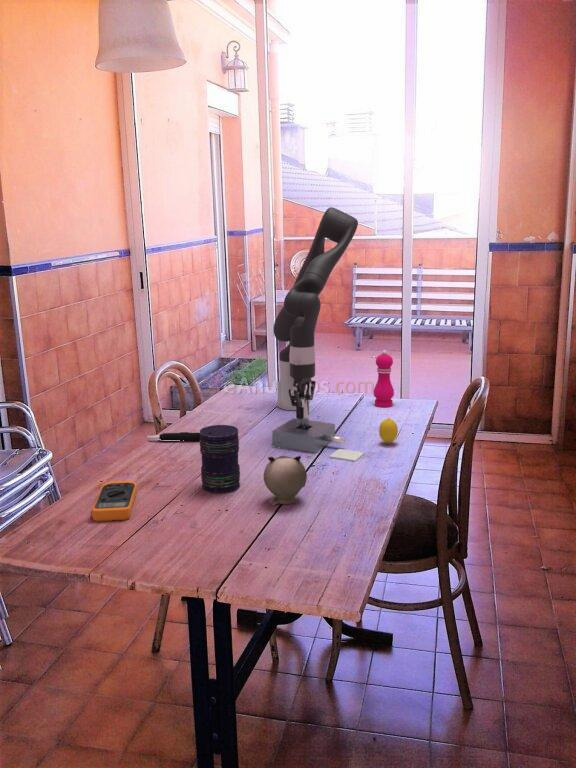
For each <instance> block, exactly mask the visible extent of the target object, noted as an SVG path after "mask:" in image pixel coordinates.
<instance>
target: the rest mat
mask: <svg viewBox="0 0 576 768" xmlns="http://www.w3.org/2000/svg"><path fill="white" fill-rule="evenodd" d="M365 454H366V453H365V452H362V451H355V450H351V449H350V450H349V449H348V450H347V449H343V448H338V449H337V450H336V451H334V452H332V453H331V454H330V455H329V456H328V457H329V458H331V459H335V460H336V459H337V460H341V461H349V462H357V461H358V460H359V459H361V457H363V456H364V455H365Z"/></svg>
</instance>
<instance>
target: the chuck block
mask: <svg viewBox="0 0 576 768" xmlns="http://www.w3.org/2000/svg"><path fill="white" fill-rule="evenodd" d="M271 432H272V434H271V436H272V437H271V439H272V440H271V441H272V442H271V443H272V447H273V446H274V448H277V447H280V448H279V449H284V448H287V449H286V450H290V449H293V450H292V451H297V450H300V451H299V452H303V451H306V452H305V453H309V452H313V453H312V454H316V452H317V451H318V452H319V451H321V450H322V449H324V448H325V447H326V446H328V445H329V444H331V443H337V444H338V443H339V444H345V443H346V437H344V436H343V437H342V436H336V424H335V423H330V422H326V421H325V422H324V421H318V420H317V421H316V420H310V419H309V429H308V430H305V429H300V423H299V419H297V418H296V417H295V418H292V419H290V420H288V421H286V422H285V423H282V425H279V426H278V427H276V428H274V429H272V431H271ZM320 449H321V450H320ZM318 452H317V453H318Z"/></svg>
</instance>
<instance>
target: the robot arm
mask: <svg viewBox="0 0 576 768" xmlns="http://www.w3.org/2000/svg"><path fill="white" fill-rule="evenodd" d="M358 225H359V220H358V219H357V218H356V217H354V216H353V215H350V214H348V213H346V212H344V211H343V210H342V211H341V210H340V209H338V208H336V207H332V206H329V207H328V208H327V209H326V211H324V213H323V215H322V217H321V219H320V222H319V224H318V227H317V229H316V230H317V231H316V233H315V234H314V235H315V236H314V238H313V241H312V244H311V245H310V249H309V251H308V252H307V254H306V256H305V259H304V262H303V263H302V265H301V268H300V269H299V272H298V274H297V277H296V279H295V281H294V284H293V287H292V288H291V289H290V290H289V291H288V292H287V294H286V295H285V297H284V301H283V305H282V307H281V309H280V310H279V313H278V314H277V317H276V318H275V321H274V323H273V335H274V338H275V339H276V340H278V341H279V342H286V343H287V342H288V344H287V346H286V347H285V348H283V349H282V350H281V351H280V352H279V354H278V355H279V356H278V358H279V361H278V362H279V363H278V364H279V365H278V366H279V380H277V407H279V408H280V409H282V410H286V411H295V412H296V413H295V419H303V418H304V407H303V406H304V399H306V395H312V399H311V400H307V408H308V416H309V415H310V404H311V401H313V400H314V399H313V398H314V394H315V389H316V382H317V381H316V380H312V378H314V377H315V376H316V349H315V348H316V347H315V331H316V326H317V322H318V319H319V315H320V311H321V307H322V305H321V303H322V302H321V299H320V297H319V295H320V294H321V292H322V291H323V290H324V288H325V286H326V284H327V283H328V280H329V277H330V275H331V274H332V271H333V270H334V268H335V266H336V265H337V263H338V262H339V261H340V259H341V258H342V256H343V255H344V254H345V251H346V250H347V248H348V247H349V245H350V243H351V241H352V240H353V237H354V236H355V234H356V232H357V229H358ZM326 239H328V240H330V241H332V242H334V243H335V244H336V245H335V246H334V247H332V248H331V249H329V250H327V251H325V242H326ZM299 395H302V396H299ZM300 399H301V402H300Z"/></svg>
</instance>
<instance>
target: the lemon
mask: <svg viewBox="0 0 576 768" xmlns="http://www.w3.org/2000/svg"><path fill="white" fill-rule="evenodd" d="M398 434H399V429H398V425H397V423H396V422H395V420H394V419H391V418H390V417H387V418H386V419H384V420H382V421H381V422H380V425H379V428H378V435H379V437H380V439H381V440H382V441H383V442H385V443H386V444H387V445H389V444H390V443H392V442H394V441H395V440H396V439H397V438H398Z"/></svg>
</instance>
